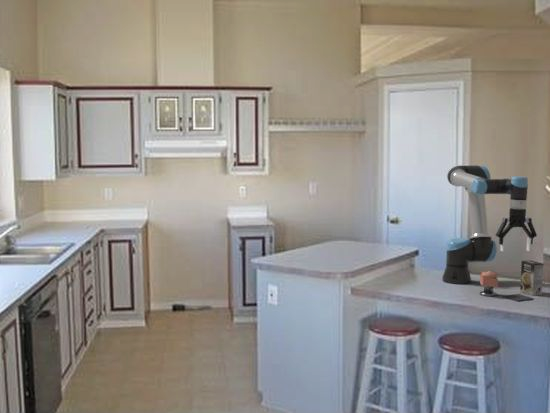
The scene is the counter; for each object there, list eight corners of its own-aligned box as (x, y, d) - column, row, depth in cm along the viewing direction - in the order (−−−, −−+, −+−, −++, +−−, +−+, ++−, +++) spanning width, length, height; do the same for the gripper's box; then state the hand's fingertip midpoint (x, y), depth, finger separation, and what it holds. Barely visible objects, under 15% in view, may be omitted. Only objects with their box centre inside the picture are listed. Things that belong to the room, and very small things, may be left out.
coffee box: (519, 291, 330) (520, 260, 328) (529, 290, 332) (530, 259, 331) (532, 295, 322) (533, 264, 320) (542, 294, 324) (544, 263, 322)
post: (476, 293, 325) (477, 276, 324) (489, 292, 328) (489, 274, 327) (487, 297, 318) (488, 279, 317) (500, 295, 321) (500, 278, 320)
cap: (482, 286, 319) (483, 272, 318) (479, 283, 326) (480, 269, 326) (497, 286, 318) (498, 273, 318) (494, 283, 325) (495, 270, 325)
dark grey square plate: (502, 296, 319) (503, 295, 319) (518, 295, 323) (518, 293, 323) (517, 301, 310) (517, 300, 310) (533, 299, 313) (533, 298, 313)
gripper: (497, 209, 309) (494, 252, 311) (546, 209, 312) (543, 252, 314) (490, 207, 316) (487, 249, 319) (537, 207, 319) (535, 249, 322)
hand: (515, 251), depth 316 cm, fingers open, 13 cm apart
